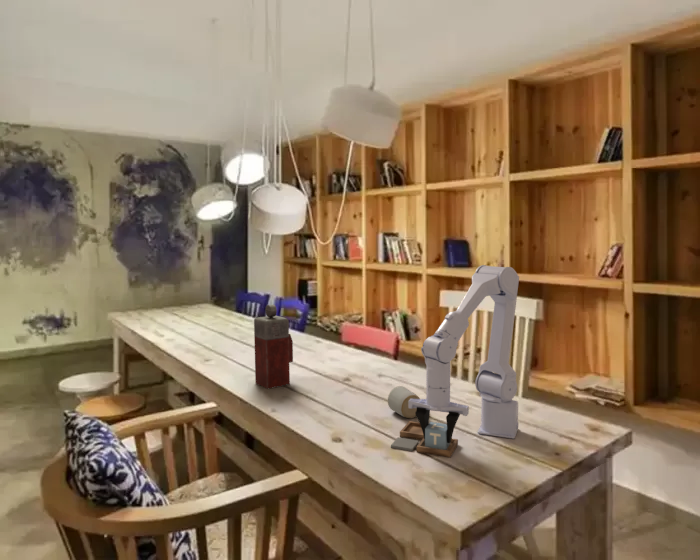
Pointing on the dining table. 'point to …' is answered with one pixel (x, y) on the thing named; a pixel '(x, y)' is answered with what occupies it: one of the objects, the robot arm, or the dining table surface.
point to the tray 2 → (438, 452)
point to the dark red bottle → (272, 349)
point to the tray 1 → (412, 431)
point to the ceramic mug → (402, 401)
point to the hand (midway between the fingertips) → (437, 439)
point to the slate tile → (404, 444)
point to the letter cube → (436, 436)
